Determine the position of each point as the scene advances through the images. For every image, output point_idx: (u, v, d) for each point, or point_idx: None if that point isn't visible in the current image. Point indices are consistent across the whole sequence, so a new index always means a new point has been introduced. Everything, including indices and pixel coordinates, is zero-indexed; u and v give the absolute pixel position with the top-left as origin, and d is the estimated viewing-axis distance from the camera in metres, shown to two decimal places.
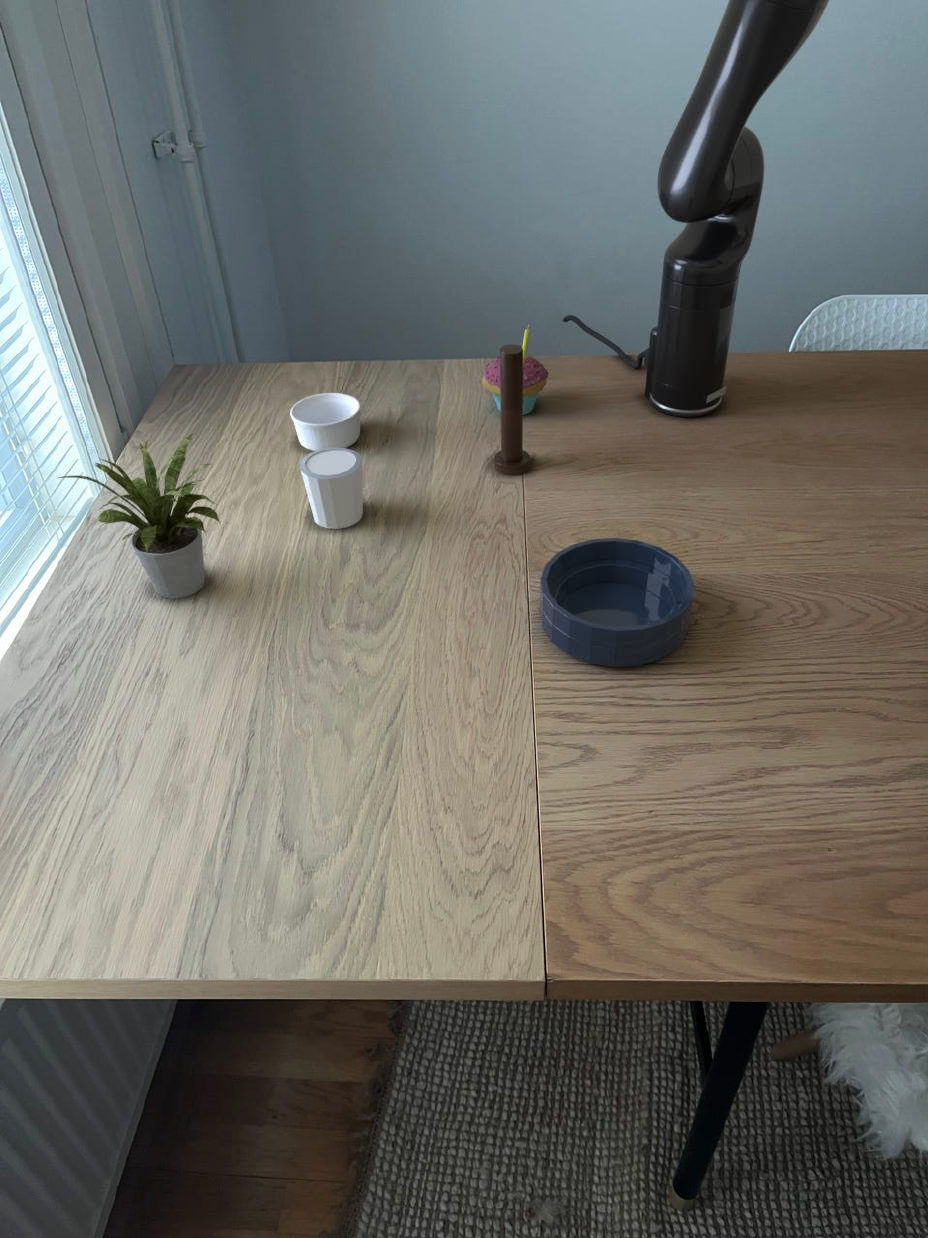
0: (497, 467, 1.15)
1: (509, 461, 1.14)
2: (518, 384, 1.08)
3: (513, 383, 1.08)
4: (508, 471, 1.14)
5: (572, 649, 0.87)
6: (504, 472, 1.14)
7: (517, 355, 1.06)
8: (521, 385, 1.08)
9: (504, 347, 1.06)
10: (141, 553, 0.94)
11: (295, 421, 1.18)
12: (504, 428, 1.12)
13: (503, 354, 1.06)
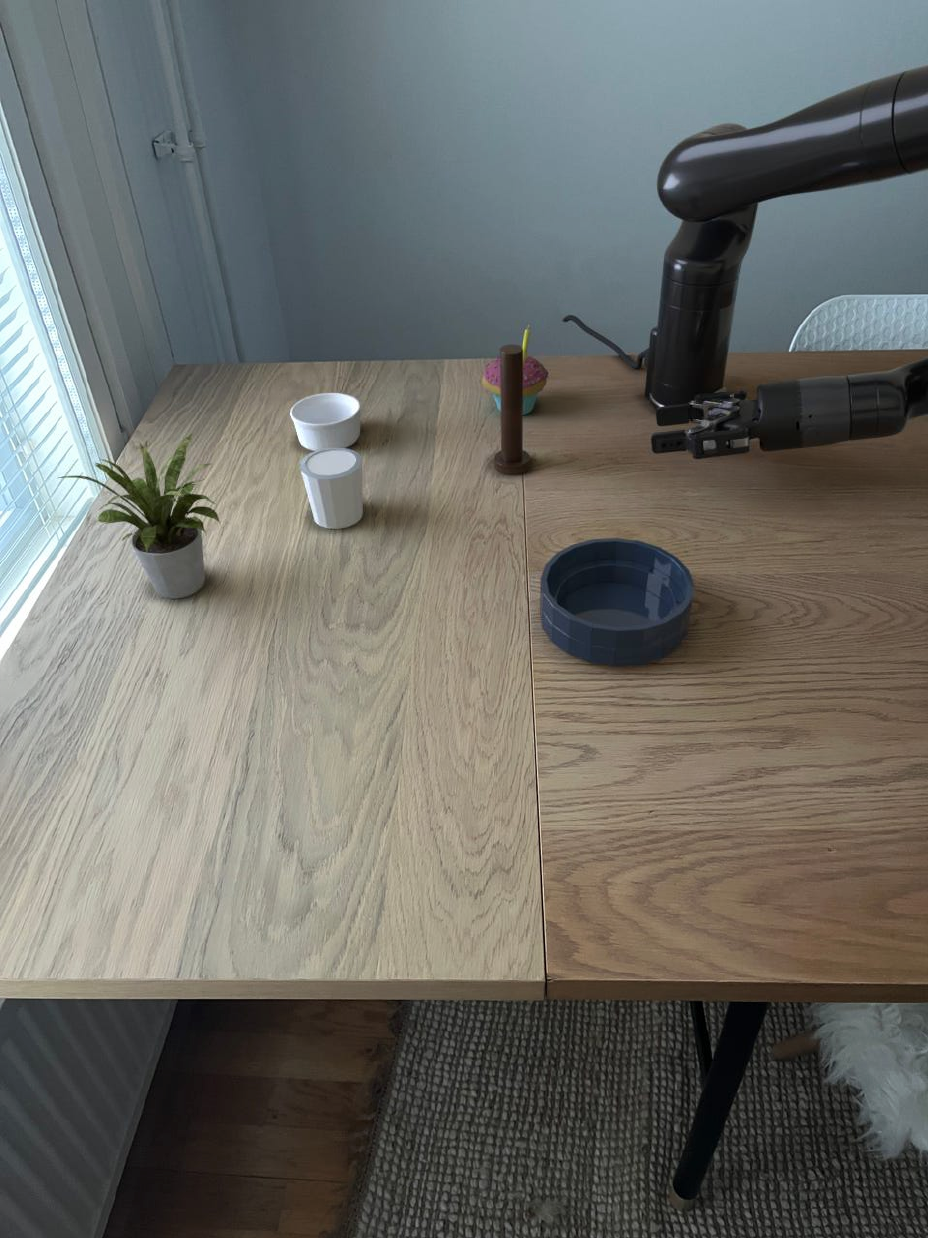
0: (497, 467, 1.15)
1: (509, 461, 1.14)
2: (518, 384, 1.08)
3: (513, 383, 1.08)
4: (508, 471, 1.14)
5: (572, 649, 0.87)
6: (504, 472, 1.14)
7: (517, 355, 1.06)
8: (521, 385, 1.08)
9: (504, 347, 1.06)
10: (141, 553, 0.94)
11: (295, 421, 1.18)
12: (504, 428, 1.12)
13: (503, 354, 1.06)
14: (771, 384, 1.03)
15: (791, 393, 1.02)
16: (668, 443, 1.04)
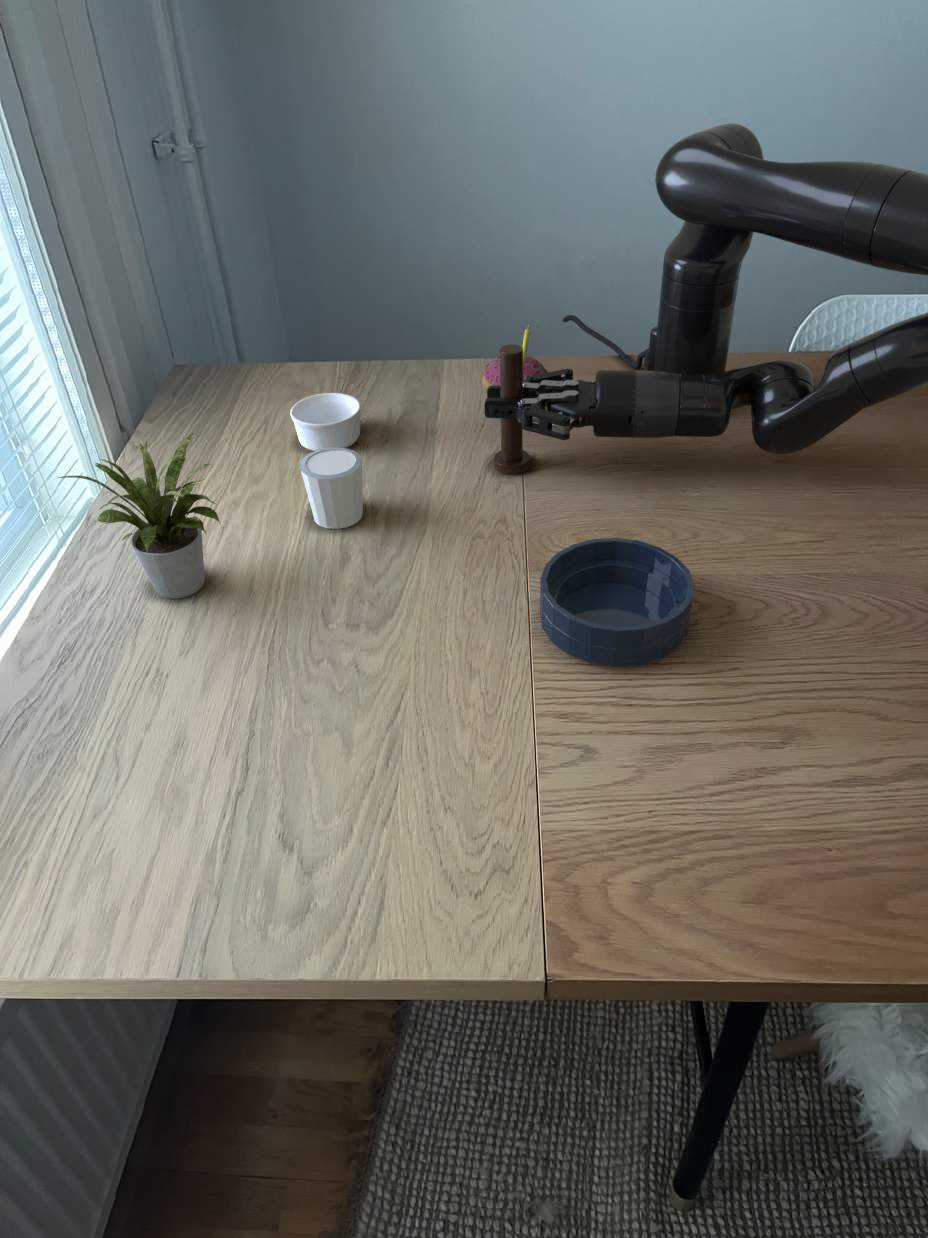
0: (497, 467, 1.15)
1: (509, 461, 1.14)
2: (518, 384, 1.08)
3: (513, 383, 1.08)
4: (508, 471, 1.14)
5: (572, 649, 0.87)
6: (504, 472, 1.14)
7: (516, 355, 1.06)
8: (521, 385, 1.08)
9: (504, 347, 1.06)
10: (141, 553, 0.94)
11: (295, 421, 1.18)
12: (504, 428, 1.12)
13: (503, 354, 1.06)
14: (610, 373, 1.07)
15: (627, 387, 1.05)
16: (500, 410, 1.08)
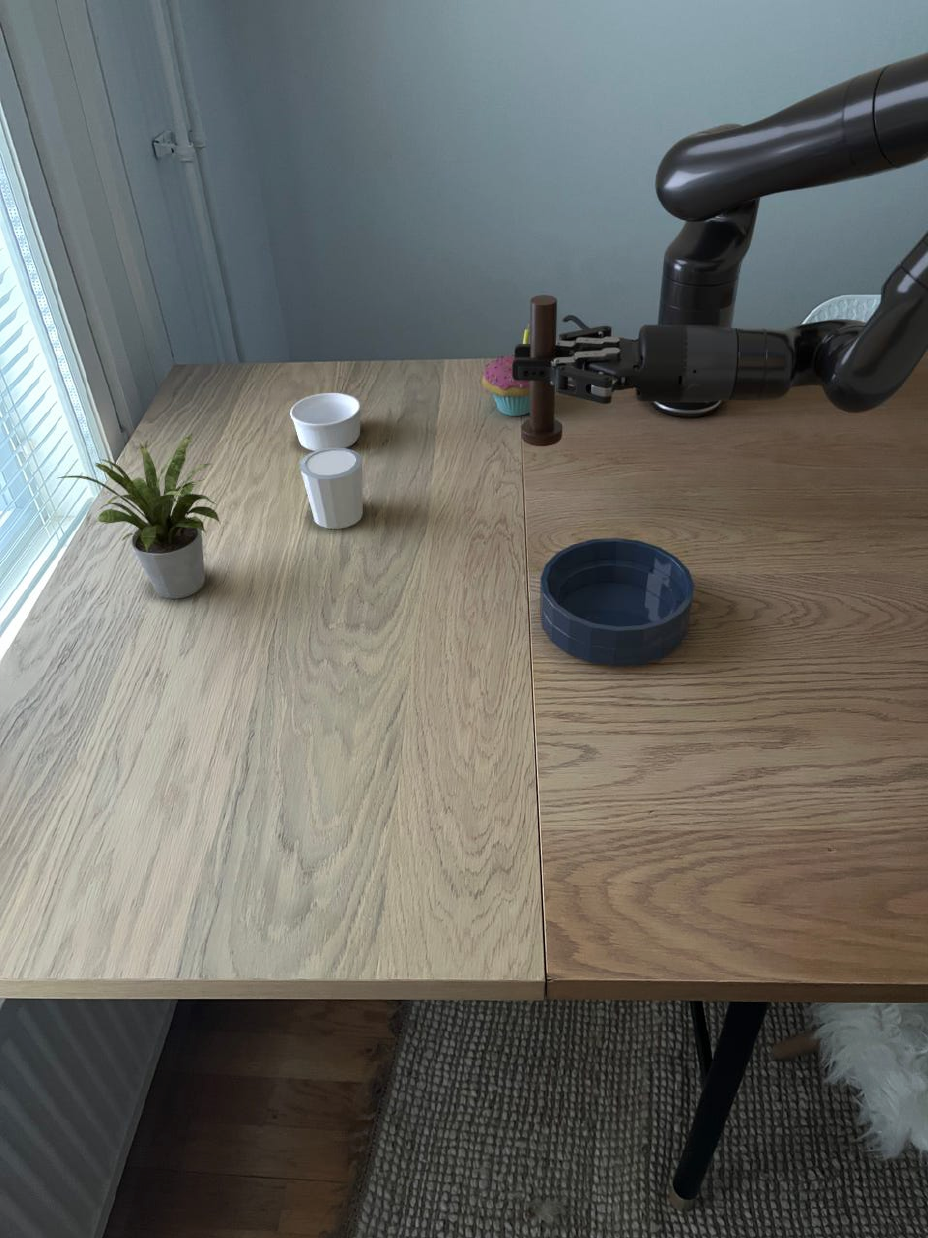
0: (525, 438, 1.01)
1: (539, 431, 1.01)
2: (551, 340, 0.94)
3: (546, 340, 0.94)
4: (538, 442, 1.00)
5: (572, 649, 0.87)
6: (533, 443, 1.01)
7: (550, 307, 0.92)
8: (554, 342, 0.95)
9: (536, 298, 0.93)
10: (141, 553, 0.94)
11: (295, 421, 1.18)
12: (534, 392, 0.98)
13: (534, 305, 0.92)
14: (656, 328, 0.93)
15: (677, 342, 0.92)
16: (530, 371, 0.95)
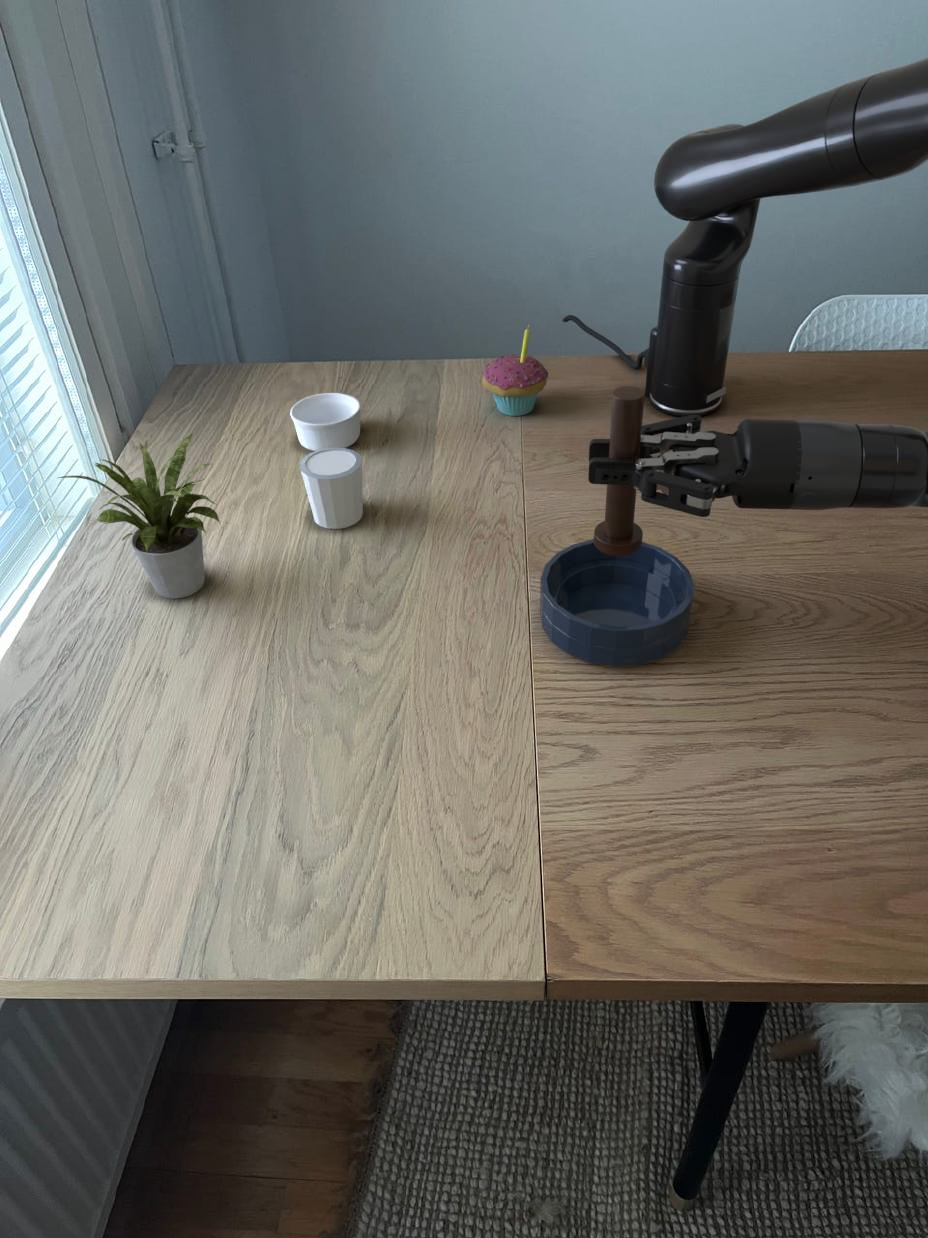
0: (600, 546, 0.86)
1: (616, 539, 0.86)
2: (635, 439, 0.79)
3: (630, 439, 0.79)
4: (615, 552, 0.85)
5: (572, 649, 0.87)
6: (609, 553, 0.86)
7: (637, 402, 0.77)
8: (639, 440, 0.80)
9: (619, 391, 0.78)
10: (141, 553, 0.94)
11: (295, 421, 1.18)
12: (612, 496, 0.83)
13: (618, 400, 0.77)
14: (763, 425, 0.78)
15: (789, 444, 0.77)
16: (611, 475, 0.80)
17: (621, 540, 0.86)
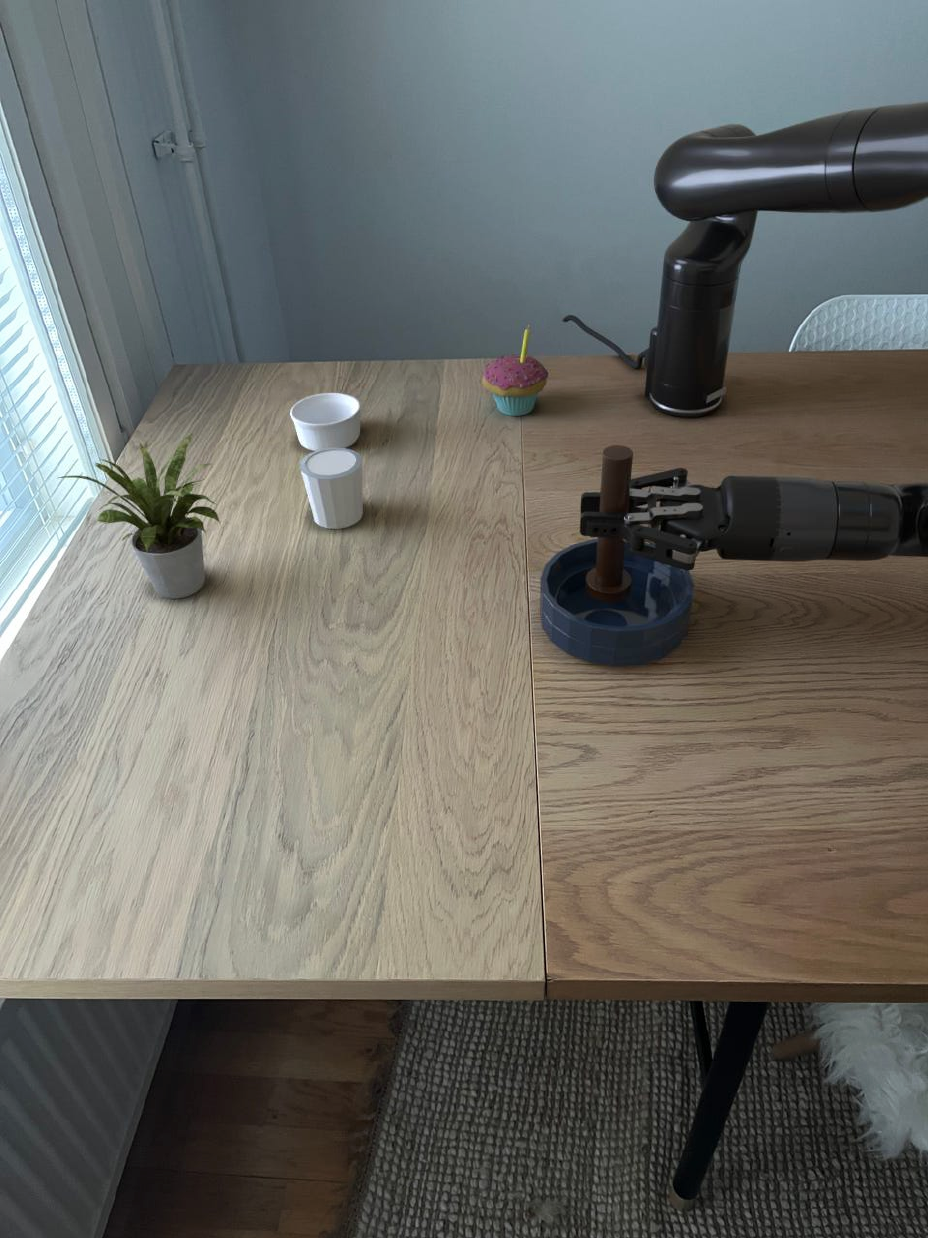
0: (591, 592, 0.91)
1: (607, 585, 0.90)
2: (624, 495, 0.84)
3: (619, 495, 0.84)
4: (605, 598, 0.90)
5: (572, 649, 0.87)
6: (600, 599, 0.90)
7: (626, 462, 0.82)
8: (628, 496, 0.84)
9: (608, 450, 0.83)
10: (141, 553, 0.94)
11: (295, 421, 1.18)
12: (603, 547, 0.88)
13: (608, 460, 0.82)
14: (744, 483, 0.83)
15: (769, 501, 0.82)
16: (601, 528, 0.84)
17: (611, 587, 0.90)
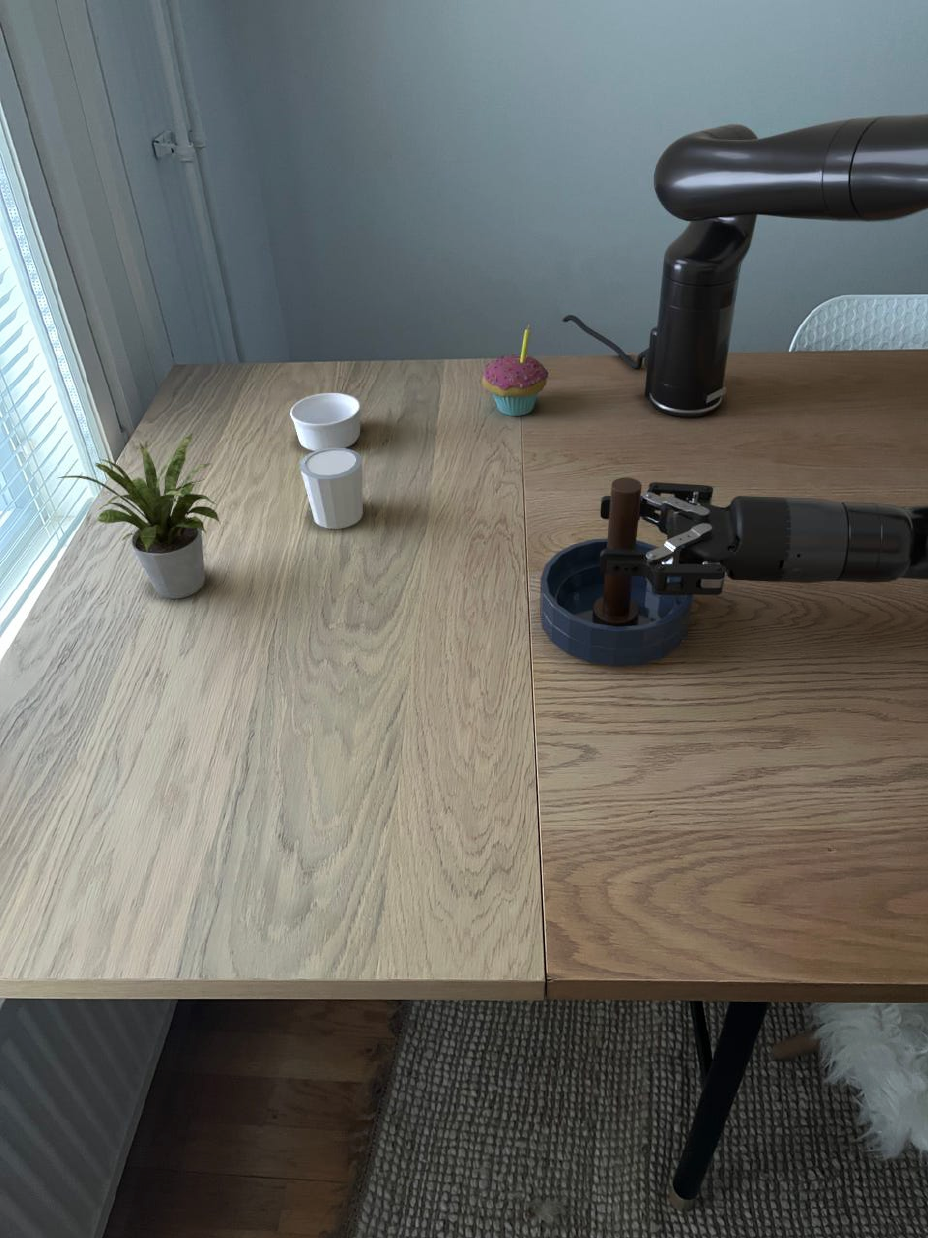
0: (598, 622, 0.91)
1: (614, 615, 0.90)
2: (632, 527, 0.84)
3: (628, 527, 0.84)
4: None
5: (572, 649, 0.87)
6: None
7: (634, 495, 0.82)
8: (636, 528, 0.85)
9: (617, 483, 0.83)
10: (141, 553, 0.94)
11: (295, 421, 1.18)
12: (610, 577, 0.88)
13: (617, 492, 0.82)
14: (754, 504, 0.82)
15: (779, 523, 0.81)
16: (622, 567, 0.82)
17: (618, 617, 0.90)
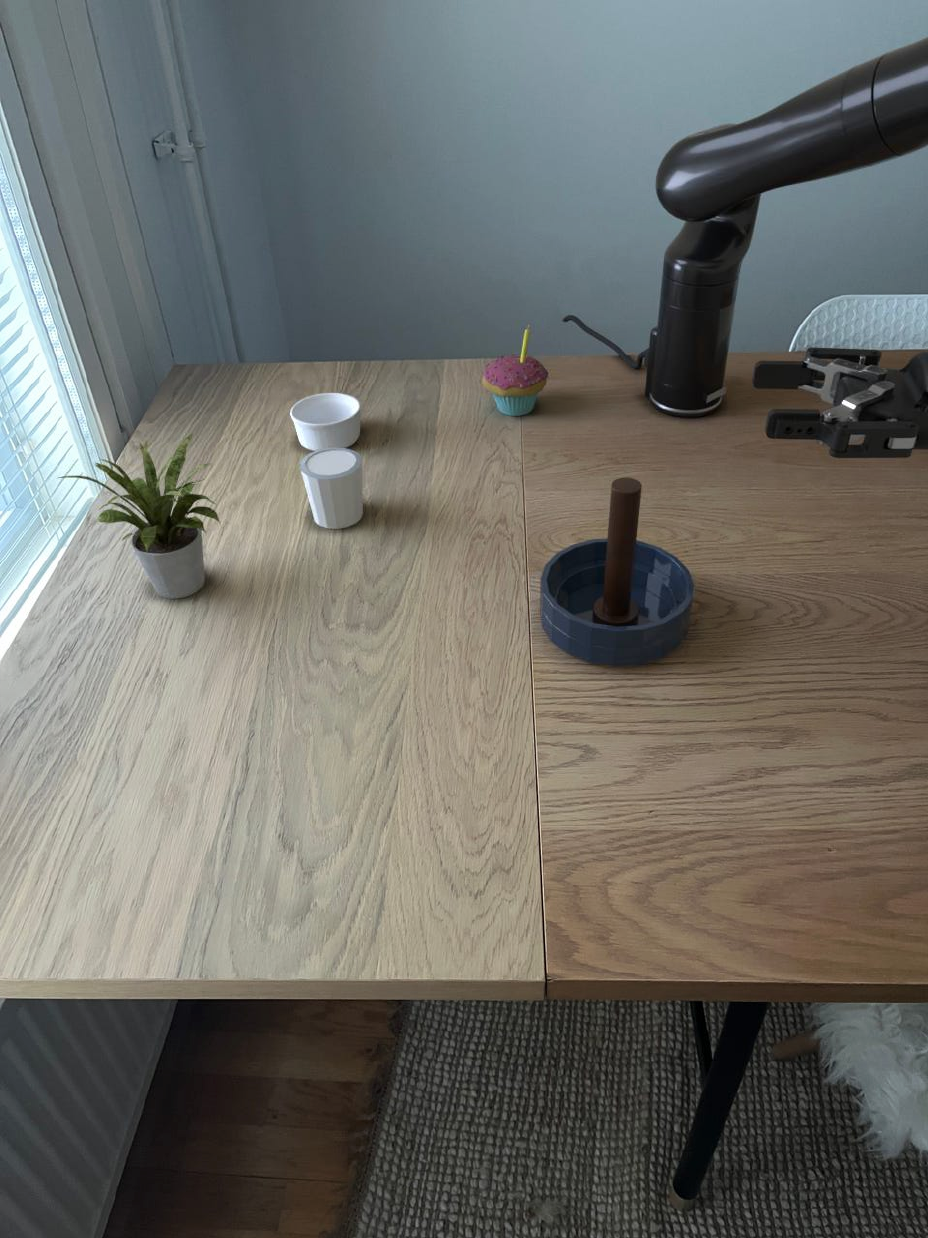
0: (598, 622, 0.91)
1: (614, 615, 0.90)
2: (632, 527, 0.84)
3: (628, 527, 0.84)
4: None
5: (572, 649, 0.87)
6: None
7: (634, 495, 0.82)
8: (636, 528, 0.85)
9: (617, 483, 0.83)
10: (141, 553, 0.94)
11: (295, 421, 1.18)
12: (610, 577, 0.88)
13: (617, 492, 0.82)
14: None
15: None
16: (795, 428, 0.72)
17: (618, 617, 0.90)
